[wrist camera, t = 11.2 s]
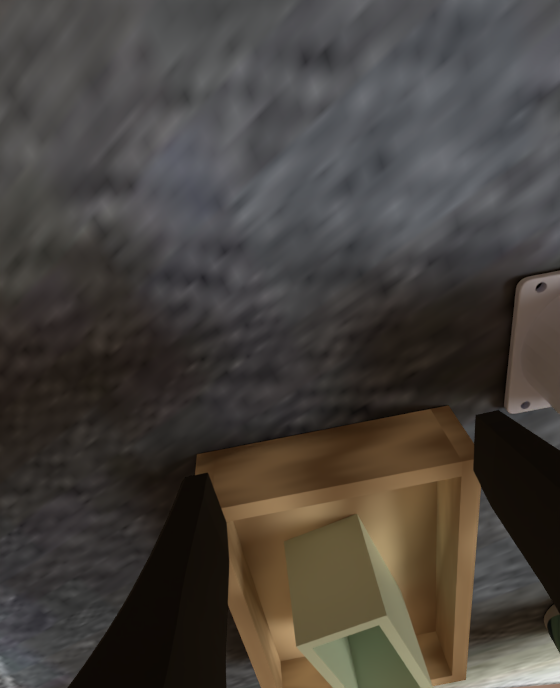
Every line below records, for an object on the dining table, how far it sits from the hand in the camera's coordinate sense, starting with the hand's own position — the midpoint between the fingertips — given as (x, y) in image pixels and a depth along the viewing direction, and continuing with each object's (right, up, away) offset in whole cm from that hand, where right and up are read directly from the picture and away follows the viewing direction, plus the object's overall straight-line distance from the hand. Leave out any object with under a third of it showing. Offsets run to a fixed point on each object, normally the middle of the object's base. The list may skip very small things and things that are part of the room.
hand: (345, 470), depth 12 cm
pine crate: (+2, -11, +18) cm, 21 cm away
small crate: (+2, -11, +18) cm, 21 cm away
